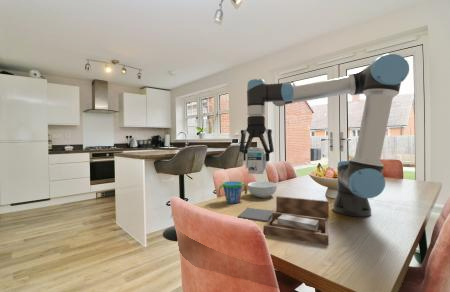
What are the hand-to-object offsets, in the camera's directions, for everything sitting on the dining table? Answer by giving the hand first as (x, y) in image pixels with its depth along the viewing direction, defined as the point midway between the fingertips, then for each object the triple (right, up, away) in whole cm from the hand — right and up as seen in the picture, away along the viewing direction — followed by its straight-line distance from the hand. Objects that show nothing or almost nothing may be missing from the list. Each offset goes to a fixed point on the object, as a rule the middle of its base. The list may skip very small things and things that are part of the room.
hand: (256, 168), depth 101 cm
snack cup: (-9, -20, +22) cm, 31 cm away
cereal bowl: (+8, -20, +34) cm, 40 cm away
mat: (0, -21, +1) cm, 21 cm away
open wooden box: (+14, -21, -13) cm, 29 cm away
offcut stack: (+12, -22, -19) cm, 31 cm away
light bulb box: (0, -2, 0) cm, 2 cm away
